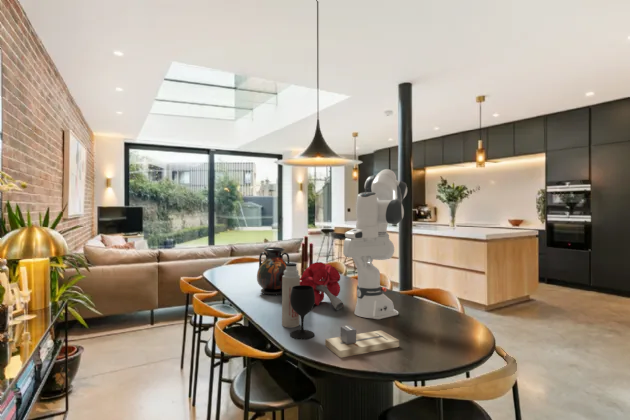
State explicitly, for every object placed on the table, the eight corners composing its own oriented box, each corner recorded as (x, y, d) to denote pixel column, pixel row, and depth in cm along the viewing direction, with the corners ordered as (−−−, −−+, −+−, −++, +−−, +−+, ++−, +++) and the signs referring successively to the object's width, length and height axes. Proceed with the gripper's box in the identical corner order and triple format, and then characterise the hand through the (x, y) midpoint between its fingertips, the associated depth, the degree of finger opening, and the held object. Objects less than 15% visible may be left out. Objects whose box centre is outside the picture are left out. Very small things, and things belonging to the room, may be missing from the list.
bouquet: (348, 316, 194) (318, 281, 214) (362, 283, 184) (329, 250, 204) (318, 326, 181) (288, 289, 201) (331, 292, 171) (299, 256, 190)
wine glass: (314, 330, 152) (314, 284, 152) (314, 339, 141) (315, 290, 141) (290, 330, 152) (290, 284, 151) (289, 339, 141) (289, 290, 141)
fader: (349, 338, 136) (349, 325, 136) (356, 342, 131) (356, 329, 131) (340, 339, 134) (340, 326, 134) (346, 344, 130) (347, 330, 130)
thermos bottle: (301, 326, 156) (301, 264, 156) (283, 328, 154) (284, 265, 154) (297, 321, 164) (297, 261, 164) (280, 322, 162) (281, 262, 162)
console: (381, 336, 146) (381, 330, 146) (399, 346, 135) (399, 340, 135) (325, 345, 135) (325, 338, 135) (340, 357, 124) (340, 350, 124)
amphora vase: (253, 296, 208) (253, 250, 208) (260, 288, 230) (260, 246, 229) (289, 297, 207) (289, 250, 207) (292, 289, 229) (293, 246, 229)
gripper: (384, 230, 147) (384, 263, 147) (341, 233, 138) (341, 267, 139) (393, 232, 141) (393, 265, 141) (349, 234, 132) (349, 270, 133)
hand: (367, 266), depth 140 cm, fingers closed
